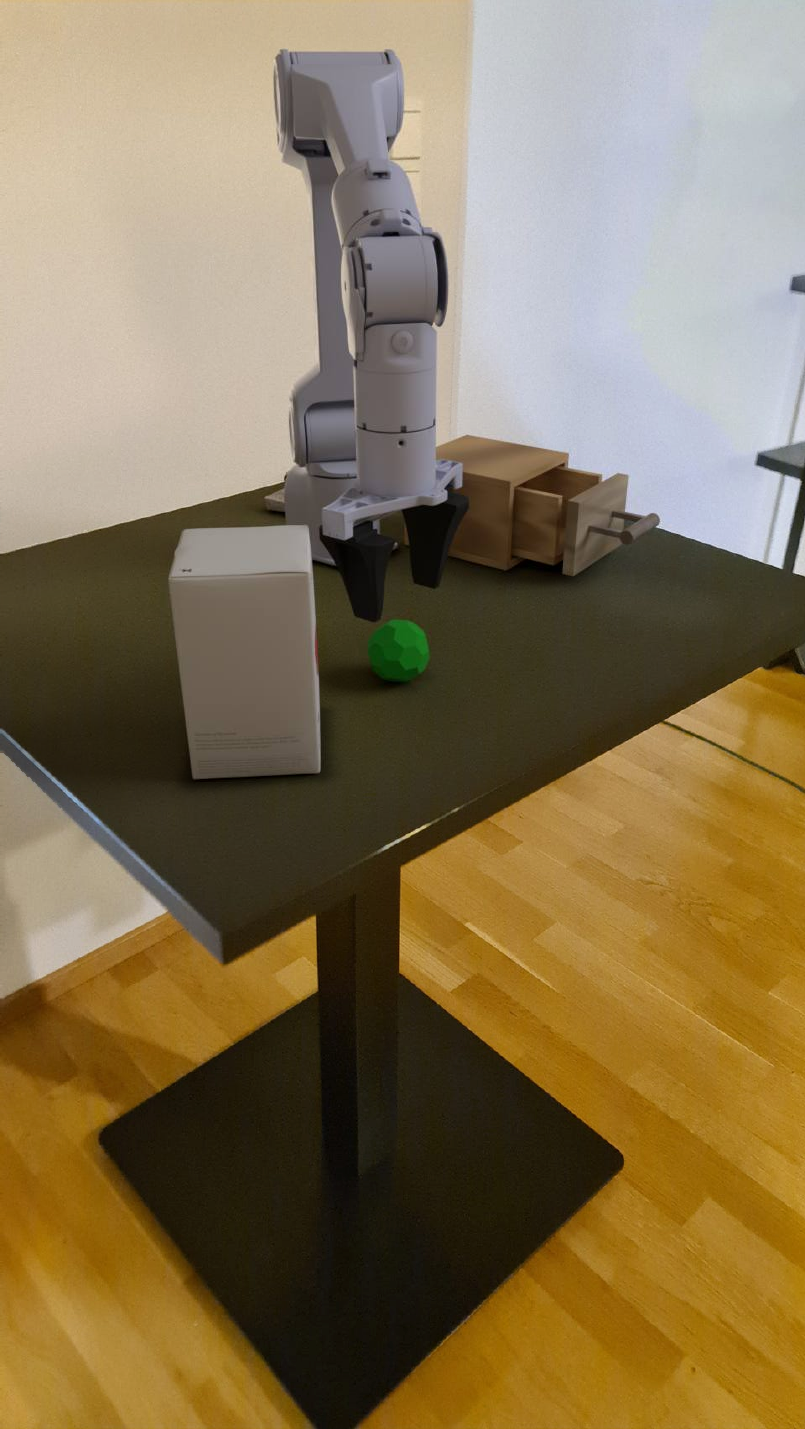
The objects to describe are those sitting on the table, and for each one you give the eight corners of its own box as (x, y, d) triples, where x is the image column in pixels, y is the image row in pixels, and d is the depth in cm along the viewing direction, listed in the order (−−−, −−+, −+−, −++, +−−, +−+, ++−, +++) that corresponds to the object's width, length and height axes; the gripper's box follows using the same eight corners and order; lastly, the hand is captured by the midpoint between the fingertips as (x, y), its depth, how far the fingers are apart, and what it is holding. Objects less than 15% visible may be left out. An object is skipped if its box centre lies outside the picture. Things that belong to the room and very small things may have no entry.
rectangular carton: (323, 776, 70) (312, 571, 62) (191, 783, 69) (163, 577, 62) (321, 710, 78) (311, 521, 70) (202, 715, 77) (179, 526, 70)
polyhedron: (365, 665, 84) (363, 612, 82) (424, 661, 85) (424, 608, 82) (371, 694, 80) (369, 639, 77) (433, 690, 80) (433, 635, 78)
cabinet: (563, 537, 109) (569, 453, 105) (506, 571, 101) (510, 481, 97) (464, 514, 116) (466, 434, 111) (404, 544, 108) (403, 459, 103)
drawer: (664, 554, 102) (673, 483, 99) (618, 587, 95) (625, 512, 92) (524, 522, 111) (528, 456, 107) (472, 551, 104) (474, 481, 100)
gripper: (377, 456, 65) (381, 648, 72) (498, 410, 75) (492, 582, 82) (294, 439, 68) (305, 623, 75) (420, 397, 79) (420, 563, 85)
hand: (397, 601), depth 79 cm, fingers open, 7 cm apart
